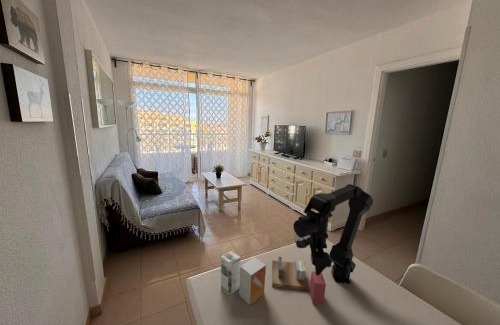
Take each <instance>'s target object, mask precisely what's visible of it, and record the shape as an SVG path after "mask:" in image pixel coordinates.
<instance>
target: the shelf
mask: <svg viewBox="0 0 500 325" xmlns="http://www.w3.org/2000/svg"><path fill="white" fill-rule="evenodd" d="M271 262H272V264H271V280H272V282H271V283H272V284H271V285H272V286H271V287H273V288H274V287H275V288H281V289H282V288H283V289H293V290H301V291H302V290H304V291H307V290H308V285H307V284H308V282H307V279H306V278H305V280H302V279H299V280H297V279H296V274H295V261H294V262H293V261H284V260H282V268H283V271H282V279H279V278H278V260H274V259H273V260H272V261H271Z"/></svg>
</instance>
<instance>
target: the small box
mask: <svg viewBox="0 0 500 325" xmlns="http://www.w3.org/2000/svg"><path fill="white" fill-rule="evenodd" d="M266 267H267V265H266V264H265V263H263V262H262V261H261V260H259V259H258V258H256V257H253V258H251V259H250V260H247V261H246V262H244V263H243V264H242V265H240V283H239V289H238V290H239V291H238V292H239V293H238V295H239V297H240V298H241V299H243V300H244V301H245V302H246V303H247V304H248V306H251V305H252V304H253V303H254V302H256V301H257V300H258V299H259V298H261V297H262V296H263V295H264V294H265V287H266V286H265V284H266V272H267V271H266V269H267V268H266Z"/></svg>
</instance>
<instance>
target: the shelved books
mask: <svg viewBox="0 0 500 325" xmlns="http://www.w3.org/2000/svg"><path fill="white" fill-rule="evenodd" d="M294 263H295V274H296V279H297V280H299V279H302V280H305V279H306V268H305V263H304V259H300V260H299V259H297V258H295V259H294Z"/></svg>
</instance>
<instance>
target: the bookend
mask: <svg viewBox="0 0 500 325" xmlns="http://www.w3.org/2000/svg"><path fill="white" fill-rule="evenodd" d="M277 258H278V259H277V261H278V278H279V279H282V271H283V268H282V261H283V257H282V256H278V257H277Z"/></svg>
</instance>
